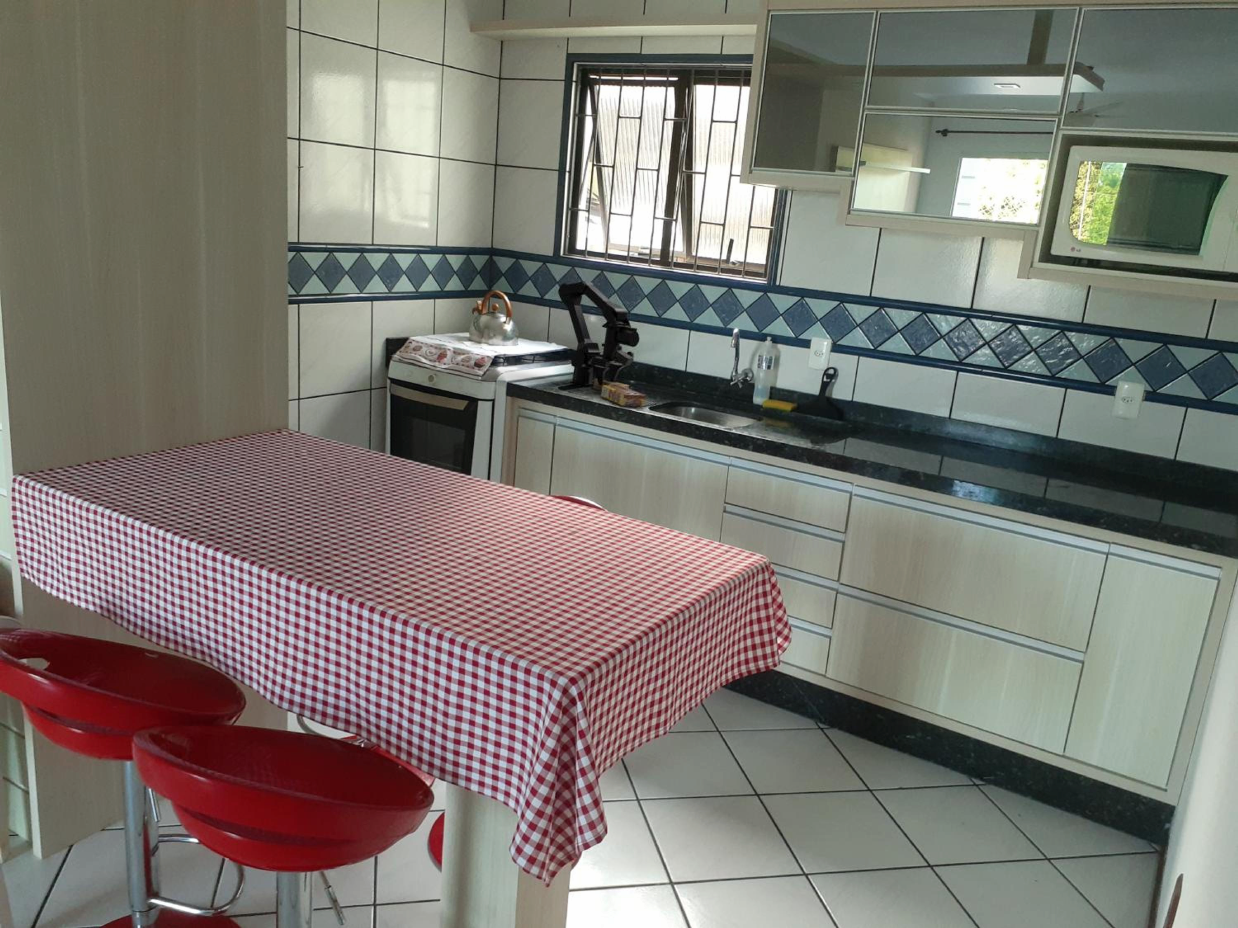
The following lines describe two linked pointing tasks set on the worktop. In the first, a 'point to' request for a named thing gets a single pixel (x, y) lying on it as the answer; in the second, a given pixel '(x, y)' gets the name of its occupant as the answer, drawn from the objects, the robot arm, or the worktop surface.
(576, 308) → the robot arm
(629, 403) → the candy box
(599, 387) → the tan rectangular block
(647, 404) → the charcoal rubber mat
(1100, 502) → the worktop surface
